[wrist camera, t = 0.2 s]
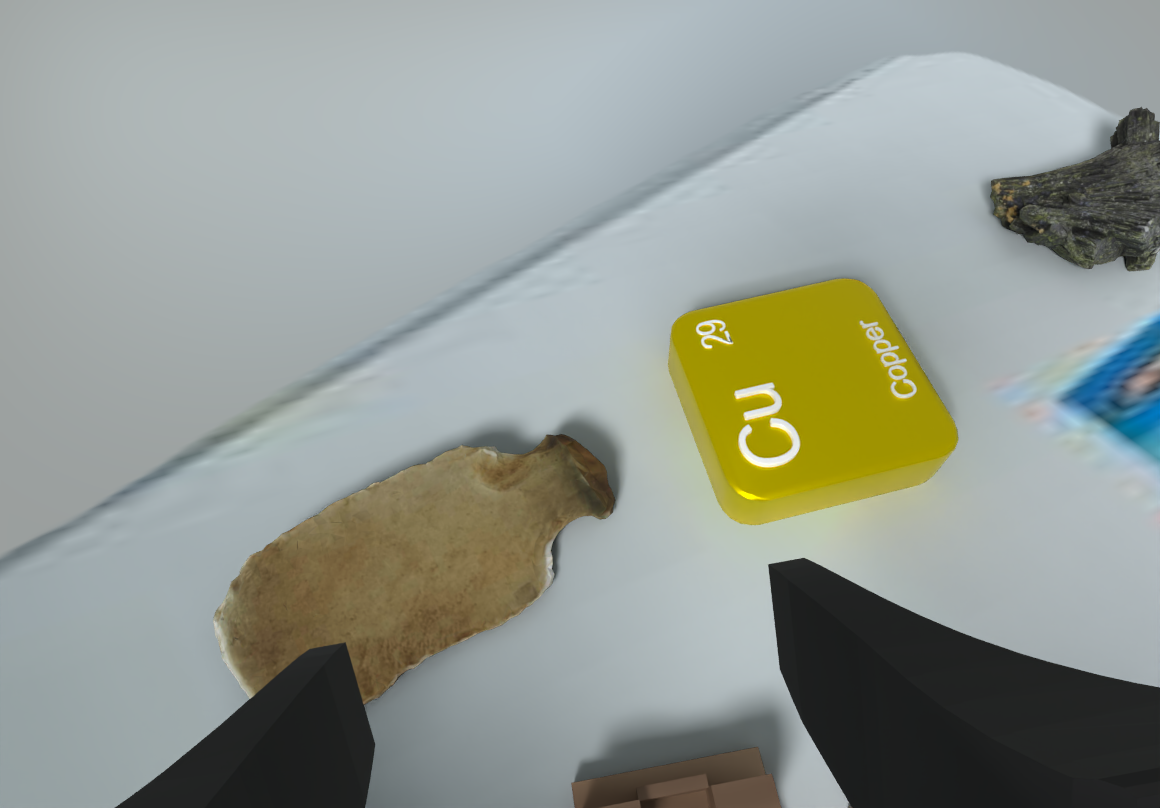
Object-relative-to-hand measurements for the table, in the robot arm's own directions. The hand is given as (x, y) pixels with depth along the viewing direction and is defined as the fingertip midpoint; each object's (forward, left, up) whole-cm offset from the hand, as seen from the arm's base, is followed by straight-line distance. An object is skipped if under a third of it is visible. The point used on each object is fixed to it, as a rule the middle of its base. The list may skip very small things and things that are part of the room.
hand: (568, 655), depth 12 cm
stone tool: (+14, +9, -32) cm, 36 cm away
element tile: (+21, -17, -32) cm, 42 cm away
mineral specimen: (+33, -45, -31) cm, 64 cm away
